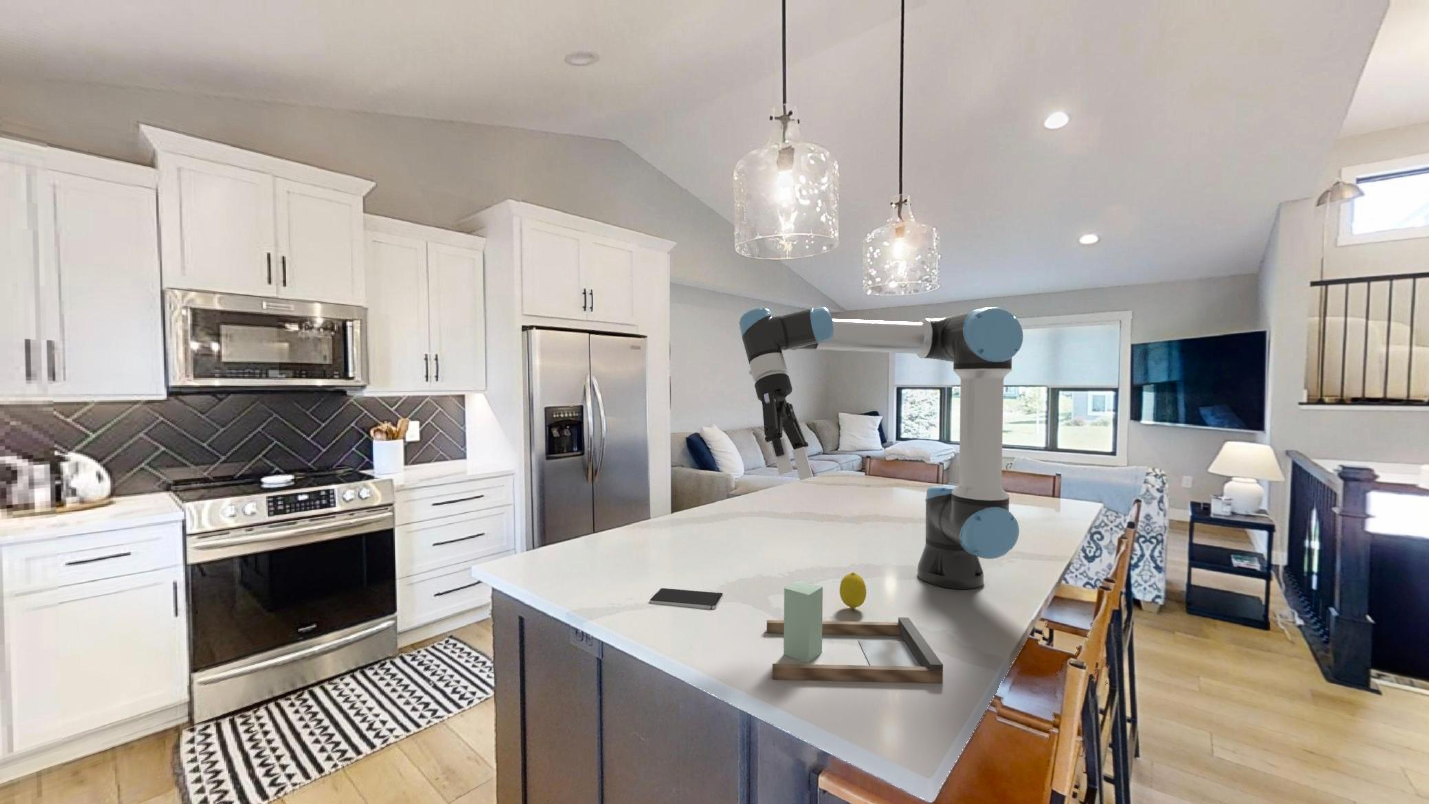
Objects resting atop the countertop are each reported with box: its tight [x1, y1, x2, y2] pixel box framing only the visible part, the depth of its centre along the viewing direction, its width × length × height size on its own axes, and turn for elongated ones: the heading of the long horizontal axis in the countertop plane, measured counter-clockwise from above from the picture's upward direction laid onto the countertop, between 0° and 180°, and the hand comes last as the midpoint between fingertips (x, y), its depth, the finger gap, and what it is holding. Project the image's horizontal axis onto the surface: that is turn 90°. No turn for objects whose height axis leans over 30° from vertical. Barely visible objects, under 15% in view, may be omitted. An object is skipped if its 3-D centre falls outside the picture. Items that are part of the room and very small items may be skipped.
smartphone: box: [649, 587, 724, 610], centre depth 126 cm, size 8×1×15 cm
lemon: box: [839, 571, 867, 610], centre depth 121 cm, size 6×6×8 cm
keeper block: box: [783, 580, 824, 664], centre depth 101 cm, size 5×5×12 cm
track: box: [766, 616, 944, 684], centre depth 101 cm, size 28×18×3 cm, turn 88°
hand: (796, 475), depth 113 cm, fingers open, 13 cm apart
